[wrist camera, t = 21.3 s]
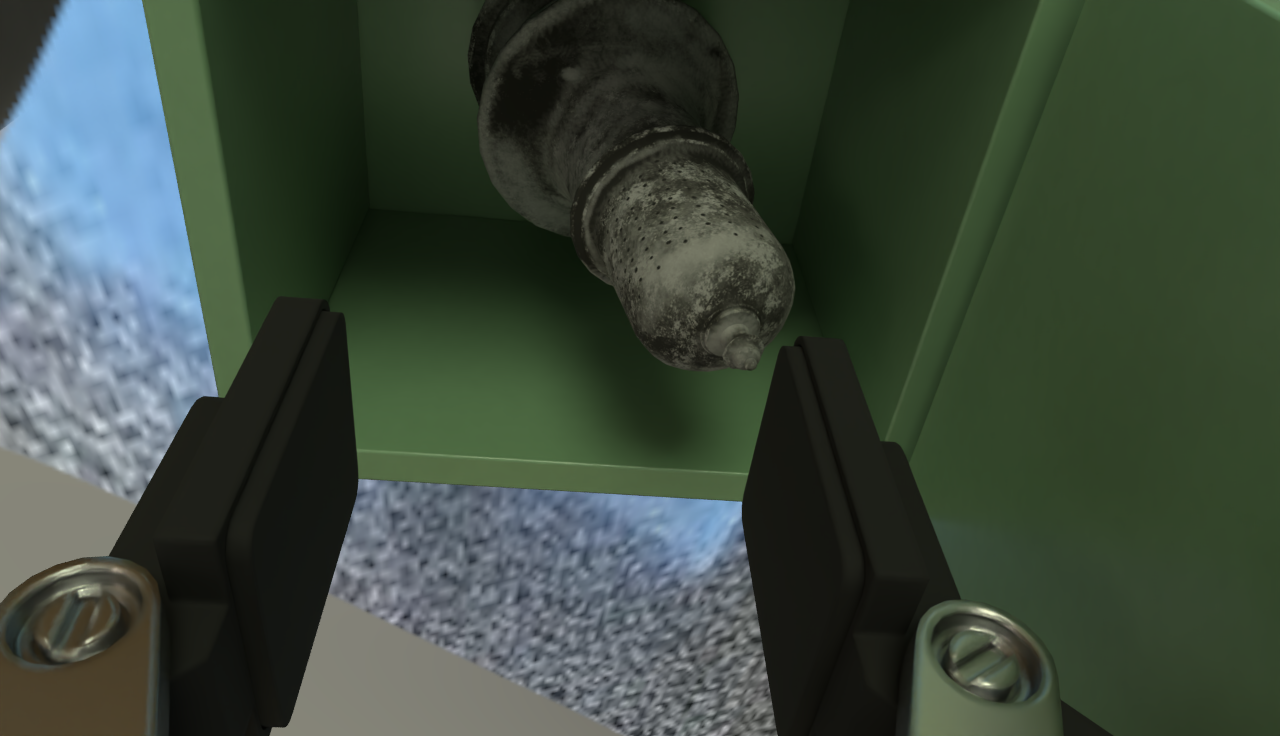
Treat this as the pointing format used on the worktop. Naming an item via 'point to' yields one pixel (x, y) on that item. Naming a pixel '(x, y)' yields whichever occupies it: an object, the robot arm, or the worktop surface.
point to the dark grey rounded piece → (634, 166)
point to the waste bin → (547, 262)
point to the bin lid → (1132, 377)
